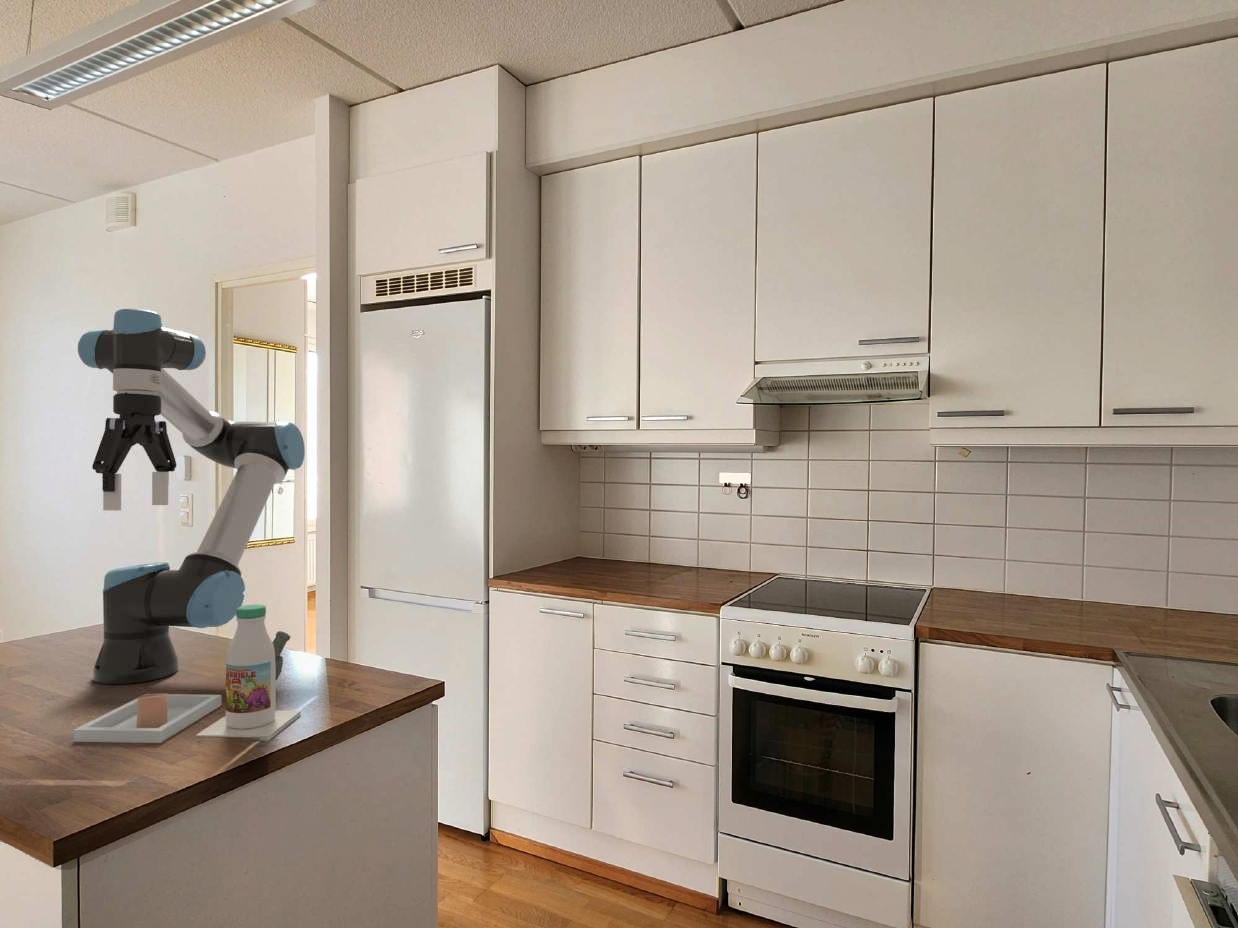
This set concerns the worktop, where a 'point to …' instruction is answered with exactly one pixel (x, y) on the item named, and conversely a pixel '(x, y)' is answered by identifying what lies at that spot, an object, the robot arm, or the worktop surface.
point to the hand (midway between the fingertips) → (137, 507)
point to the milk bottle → (250, 672)
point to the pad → (262, 732)
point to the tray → (124, 728)
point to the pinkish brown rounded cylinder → (152, 710)
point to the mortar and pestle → (279, 650)
